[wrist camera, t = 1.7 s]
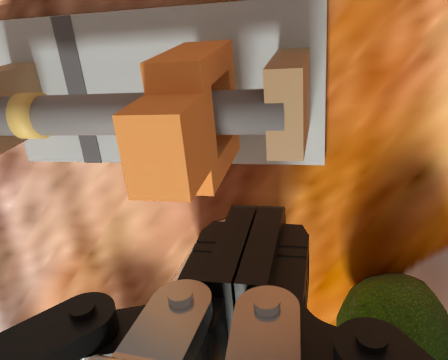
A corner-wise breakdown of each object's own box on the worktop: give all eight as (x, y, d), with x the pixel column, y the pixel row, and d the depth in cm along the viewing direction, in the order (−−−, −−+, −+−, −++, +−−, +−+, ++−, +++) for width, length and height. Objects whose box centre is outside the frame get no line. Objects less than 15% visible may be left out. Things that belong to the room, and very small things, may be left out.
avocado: (317, 275, 35) (309, 404, 25) (407, 234, 32) (442, 363, 21) (368, 342, 37) (381, 488, 27) (459, 310, 34) (516, 463, 23)
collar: (231, 39, 26) (174, 77, 17) (239, 148, 29) (194, 231, 20) (184, 42, 27) (104, 79, 17) (197, 148, 29) (134, 228, 20)
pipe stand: (327, -7, 26) (324, 1, 19) (324, 159, 31) (321, 214, 24) (-3, 20, 32) (-97, 33, 25) (36, 156, 37) (-34, 200, 30)
